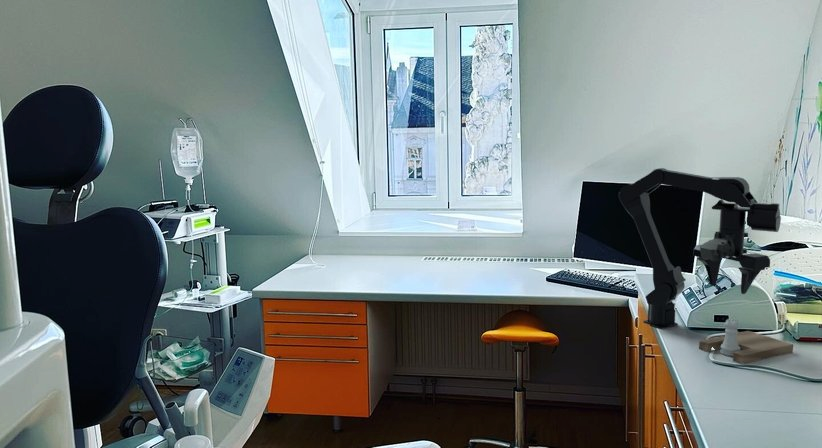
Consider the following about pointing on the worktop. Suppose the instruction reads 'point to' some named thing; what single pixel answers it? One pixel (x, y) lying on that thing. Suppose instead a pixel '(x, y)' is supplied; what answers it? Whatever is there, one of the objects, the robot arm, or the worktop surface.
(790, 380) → the worktop surface
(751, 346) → the notched board
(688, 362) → the worktop surface
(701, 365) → the worktop surface
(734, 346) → the rook chess piece
